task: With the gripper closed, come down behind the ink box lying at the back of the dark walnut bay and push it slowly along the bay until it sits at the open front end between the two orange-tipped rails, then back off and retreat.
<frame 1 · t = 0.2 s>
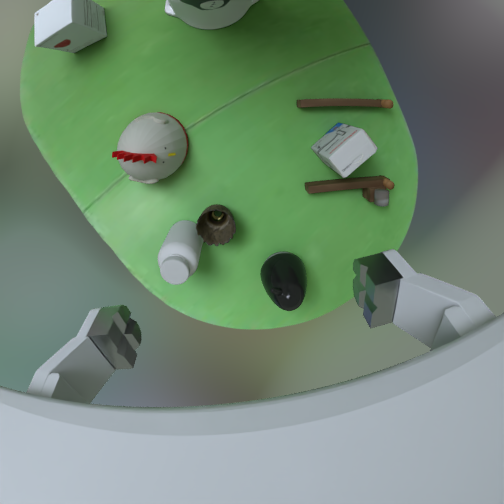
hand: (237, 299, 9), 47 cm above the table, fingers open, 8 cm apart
pill bottle: (186, 234, 59), on the table
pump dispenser: (279, 263, 65), on the table
kitchen timer: (155, 145, 49), on the table
cup: (217, 212, 57), on the table
ink box: (331, 143, 51), on the table
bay: (345, 142, 51), on the table
supplement box: (88, 30, 33), on the table
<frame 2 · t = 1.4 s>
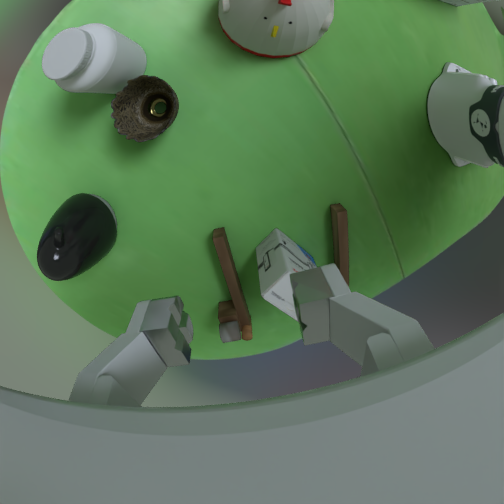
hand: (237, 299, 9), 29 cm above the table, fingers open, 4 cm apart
pill bottle: (122, 67, 27), on the table
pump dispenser: (97, 215, 37), on the table
kitchen timer: (272, 15, 25), on the table
cup: (161, 107, 30), on the table
ink box: (284, 252, 42), on the table
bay: (287, 268, 44), on the table
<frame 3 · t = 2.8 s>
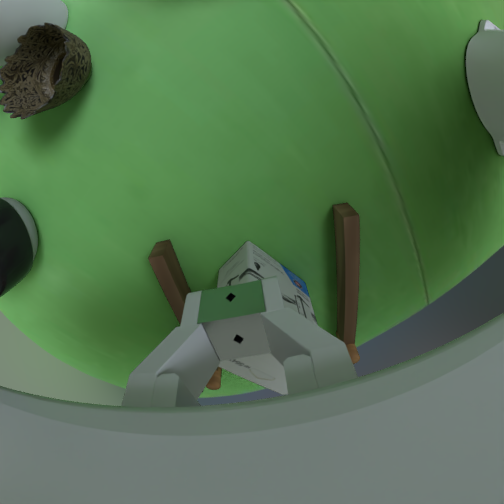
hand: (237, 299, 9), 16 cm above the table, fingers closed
pill bottle: (42, 32, 13), on the table
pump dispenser: (22, 223, 23), on the table
cup: (80, 72, 17), on the table
ink box: (262, 275, 29), on the table
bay: (267, 298, 30), on the table
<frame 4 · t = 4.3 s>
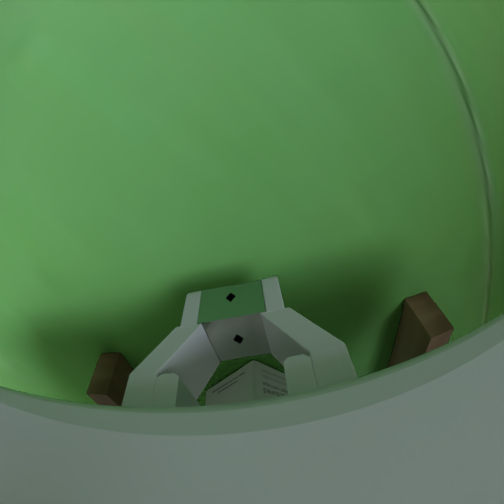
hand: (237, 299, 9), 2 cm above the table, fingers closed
ink box: (275, 393, 16), on the table
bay: (281, 413, 18), on the table
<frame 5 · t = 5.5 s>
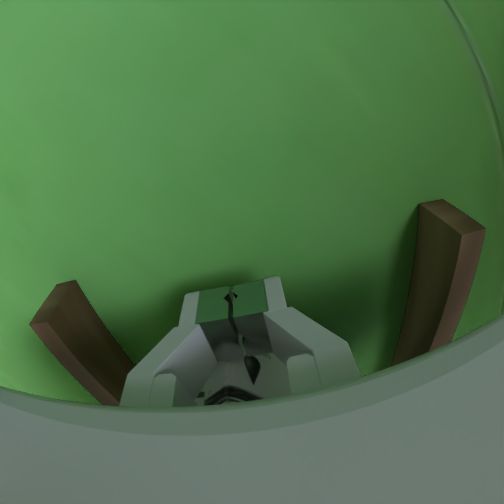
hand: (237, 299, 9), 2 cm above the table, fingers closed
ink box: (266, 347, 14), on the table, touching gripper
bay: (275, 378, 15), on the table
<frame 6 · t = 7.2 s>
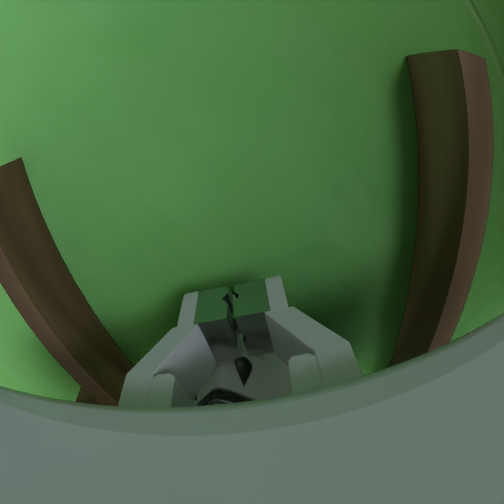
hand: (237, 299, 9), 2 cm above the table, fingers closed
ink box: (267, 347, 14), on the table, touching gripper
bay: (251, 304, 12), on the table
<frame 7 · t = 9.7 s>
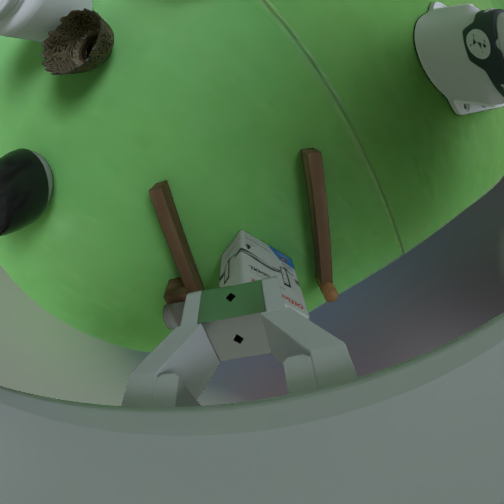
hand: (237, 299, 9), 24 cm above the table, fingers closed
pill bottle: (70, 20, 17), on the table
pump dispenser: (38, 177, 28), on the table
cup: (102, 51, 21), on the table
ink box: (256, 257, 36), on the table
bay: (249, 235, 34), on the table
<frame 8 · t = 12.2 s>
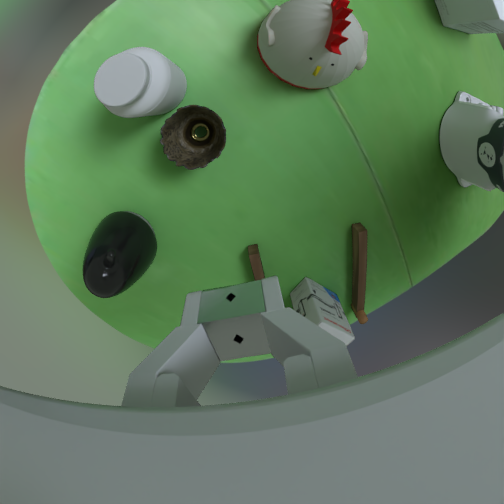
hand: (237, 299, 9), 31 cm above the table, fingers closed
pill bottle: (160, 88, 31), on the table
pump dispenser: (133, 231, 41), on the table
kitchen timer: (306, 45, 28), on the table
cup: (201, 131, 34), on the table
ink box: (313, 293, 50), on the table
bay: (311, 280, 48), on the table
supplement box: (450, 11, 21), on the table
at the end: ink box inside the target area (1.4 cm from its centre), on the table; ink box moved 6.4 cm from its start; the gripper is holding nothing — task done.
